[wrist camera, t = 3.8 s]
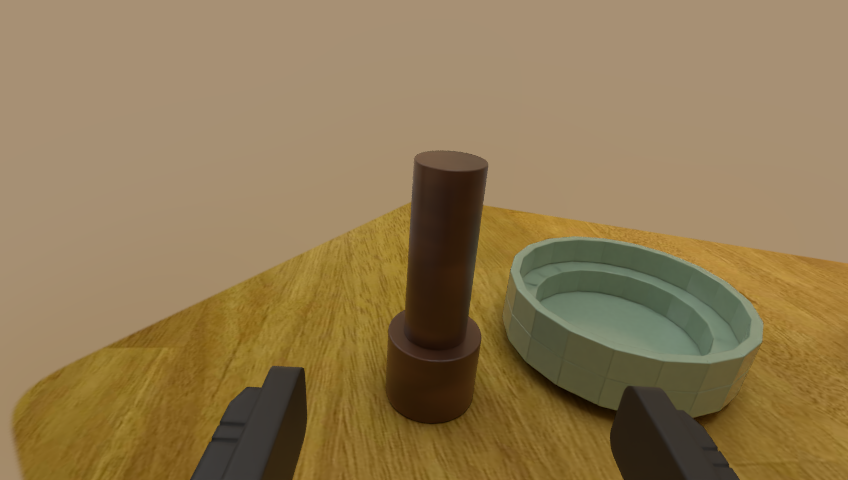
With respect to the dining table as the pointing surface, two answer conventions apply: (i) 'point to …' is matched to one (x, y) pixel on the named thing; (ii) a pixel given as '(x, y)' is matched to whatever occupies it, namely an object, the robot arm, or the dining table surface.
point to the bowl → (629, 323)
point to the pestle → (438, 291)
